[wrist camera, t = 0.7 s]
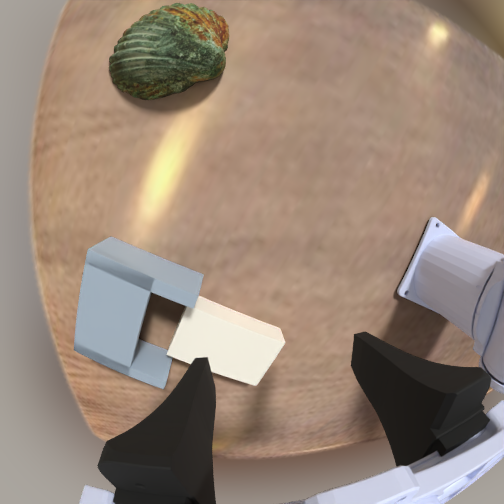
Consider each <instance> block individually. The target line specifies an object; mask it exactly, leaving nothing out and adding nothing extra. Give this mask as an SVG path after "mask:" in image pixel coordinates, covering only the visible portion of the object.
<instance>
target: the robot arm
mask: <svg viewBox="0 0 504 504" xmlns="http://www.w3.org/2000/svg"><path fill="white" fill-rule="evenodd" d="M436 223H437V226H436ZM405 291H406V293H405ZM397 293H398V294H399V295H400V296H402V297H404V298H406V299H408V300H411V301H413V302H415V303H417V304H419V305H421V306H424V307H426V308H428V309H430V310H432V311H435V312H437V313H439V314H441V315H442V316H443V317H445V318H446V319H447V320H449V321H450V322H451V323H453V324H454V325H455V326H457V327H458V328H459V329H461V330H462V331H463V332H464V333H466V334H467V335H468V336H470V337H471V338H472V339H473V340H475V343H474V347H473V350H474V351H475V352H476V353H478V354H479V355H480V356H481V357H480V359H479V367H458V366H450V365H444V364H439V363H435V362H431V361H428V360H424V359H421V358H418V357H416V356H413V355H411V354H408V353H406V352H404V351H402V350H400V349H397V348H395V347H393V346H391V345H390V344H388V343H386V342H384V341H382V340H380V339H378V338H377V337H375V336H373V335H371V334H369V333H367V332H362V333H357V334H354V342H353V352H352V361H351V367H352V369H353V372H354V374H355V376H356V379H357V381H358V383H359V384H360V386H361V388H362V389H363V391H364V393H365V394H366V396H367V397H368V399H369V401H370V402H371V404H372V406H373V407H374V409H375V411H376V412H377V414H378V416H379V418H380V421H381V423H382V425H383V428H384V430H385V433H386V435H387V438H388V440H389V443H390V445H391V449H392V452H393V455H394V459H395V462H396V466H397V467H395V468H392V469H389V470H386V471H384V472H381V473H379V474H376V475H373V476H371V477H368V478H365V479H362V480H359V481H356V482H353V483H350V484H346V485H343V486H340V487H336V488H332V489H329V490H326V491H323V492H320V493H317V494H315V495H313V496H311V497H309V498H307V499H305V500H299V501H294V502H288V503H281V504H444V503H445V502H447V501H449V500H450V499H451V498H453V497H454V496H456V495H457V494H459V493H460V492H461V491H463V490H464V489H465V488H467V487H468V486H469V485H471V484H472V483H473V482H474V481H476V480H477V479H478V478H480V477H481V476H482V475H483V474H485V473H486V472H487V471H488V470H489V469H490V468H492V467H493V466H494V465H495V464H496V463H497V462H498V461H500V460H501V459H502V458H503V457H504V401H503V400H502V401H500V402H499V403H498V404H497V405H495V406H494V407H493V408H491V409H490V410H489V411H488V412H487V413H486V415H485V414H484V412H483V410H484V406H483V405H482V404H481V403H482V401H483V399H484V397H485V395H486V393H487V391H488V389H489V387H491V388H493V389H494V390H496V391H497V392H499V393H502V394H504V255H503V254H501V253H498V252H496V251H493V250H491V249H488V248H485V247H483V246H480V245H477V244H475V243H472V242H469V241H466V240H463V239H461V238H460V237H459V236H458V235H456V234H455V233H454V232H453V231H452V230H450V229H449V228H448V227H447V226H446V225H444V224H443V223H442V222H441V221H439V220H438V219H437V218H435V217H431V218H430V220H429V222H428V225H427V227H426V230H425V232H424V234H423V237H422V239H421V241H420V244H419V246H418V248H417V250H416V253H415V255H414V257H413V259H412V261H411V263H410V266H409V268H408V270H407V272H406V274H405V276H404V278H403V280H402V282H401V284H400V286H399V288H398V290H397ZM404 293H405V294H404ZM215 409H216V391H215V384H214V380H213V376H212V372H211V368H210V364H209V360H208V357H202V358H195V359H194V360H193V362H192V363H191V365H190V367H189V368H188V370H187V371H186V373H185V375H184V376H183V378H182V379H181V380H180V382H179V383H178V385H177V386H176V387H175V389H174V390H173V391H172V392H171V394H170V395H169V396H168V397H167V398H166V400H165V401H164V402H163V403H162V404H161V405H160V406H159V407H158V408H157V409H156V410H155V411H154V412H153V413H151V414H150V415H149V416H148V417H146V418H145V419H144V420H143V421H141V422H140V423H139V424H137V425H136V426H134V427H133V428H131V429H129V430H128V431H126V432H124V433H122V434H120V435H118V436H116V437H114V438H112V439H110V440H108V441H107V442H106V444H105V446H104V448H103V451H102V454H101V457H100V460H99V463H98V469H99V470H100V472H101V473H102V474H103V475H104V476H105V478H106V479H108V480H109V481H110V482H111V483H112V484H113V485H114V486H115V487H116V491H115V494H114V493H112V492H110V491H108V490H104V489H100V488H96V487H93V486H89V485H85V487H84V489H83V493H82V496H81V499H80V502H79V504H216V501H215V491H214V478H213V460H212V440H213V430H214V420H215Z"/></svg>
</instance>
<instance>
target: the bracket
mask: <svg viewBox="0 0 504 504" xmlns="http://www.w3.org/2000/svg"><path fill="white" fill-rule="evenodd" d="M203 275H204V274H201V273H199V272H196V271H193V270H191V269H188V268H186V267H183V266H181V265H178V264H176V263H173V262H171V261H168V260H166V259H163V258H161V257H159V256H156V255H154V254H151V253H149V252H146V251H144V250H142V249H139V248H137V247H135V246H132V245H130V244H127V243H125V242H123V241H120V240H118V239H116V238H113V237H109V238H107V239H105V240H103V241H102V242H100V243H98V244H96V245H94V246H93V247H91V248H89V249H88V252H87V256H86V261H85V266H84V272H83V277H82V283H81V289H80V296H79V303H78V311H77V320H76V330H75V342H74V351H76V352H78V353H80V354H82V355H84V356H86V357H88V358H90V359H92V360H94V361H96V362H98V363H100V364H102V365H105V366H107V367H109V368H111V369H113V370H116V371H118V372H120V373H123V374H125V375H127V376H130V377H132V378H135V379H137V380H140V381H142V382H145V383H148V384H150V385H153V386H156V387H158V388H161V389H164V387H165V384H166V382H167V378H168V374H169V370H170V366H171V362H172V359H173V357H171V356H169V355H167V351H168V350H166V349H163V348H161V347H158V346H156V345H153V344H150V343H148V342H145V341H143V340H141V339H139V335H140V331H141V327H142V324H143V320H144V316H145V313H146V309H147V306H148V303H149V299H150V296H151V293H155V294H157V295H159V296H162V297H164V298H167V299H169V300H172V301H175V302H177V303H180V304H182V305H185V306H188V307H190V308H193V309H194V306H195V304H196V301H197V299H198V296H199V292H200V288H201V283H202V279H203Z"/></svg>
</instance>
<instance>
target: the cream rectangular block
mask: <svg viewBox="0 0 504 504" xmlns="http://www.w3.org/2000/svg"><path fill="white" fill-rule="evenodd" d="M284 344H285V340H284V338H283V335H282V332H281V329H280V328H278V327H275V326H273V325H270V324H267V323H265V322H262V321H260V320H257V319H254V318H252V317H249V316H247V315H244V314H242V313H239V312H237V311H234V310H232V309H229V308H227V307H225V306H222V305H220V304H217V303H215V302H213V301H210V300H208V299H206V298H203V297H201V296H198V299H197V301H196V304H195V306H194V309H193V308H190V307H188V306H185V309H184V311H183V313H182V315H181V318H180V320H179V322H178V325H177V327H176V329H175V332H174V334H173V336H172V339H171V342H170V345H169V348H168V351H167V355H169V356H171V357H174V358H176V359H179V360H181V361H184V362H186V363H189V364H191V363H192V362H193V360H194V359H195V358H202V357H208V360H209V364H210V368H211V372H214V373H217V374H220V375H223V376H226V377H229V378H232V379H235V380H238V381H242V382H245V383H248V384H252V385H255V386H256V385H257V384H258V383H259V381H260V380H261V378H262V377H263V375H264V374H265V373H266V371H267V370H268V368H269V367H270V365H271V364H272V362H273V361H274V359H275V358H276V356H277V355H278V353H279V352H280V350H281V349H282V347H283V346H284Z"/></svg>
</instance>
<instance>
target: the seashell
mask: <svg viewBox="0 0 504 504" xmlns="http://www.w3.org/2000/svg"><path fill="white" fill-rule="evenodd" d="M228 41H229V29H228V25H227V23H226V21H225V19H224V18H223V17H222V16H218V15H217V14H216V13H215V12H214V11H213V10H208V9H207V8H204V7H201V8H198V7H197V6H196V5H195V4H192V3H190V4H186V5H183V4H180V3H175V4H172V5H171V6H162V7H161V8H160V9H158V10H153V11H151V12H150V13H149V14H146V15H144V16H142V17H141V18H140V20H139V21H137V22H135V23H134V24H133V25H132V26H131V28H129V29H127V30H126V31H125V32H124V33H123V37H122V38H120V39H119V41H118V44H117V45H116V46H115V47H114V52H115V54H113V55H112V56H111V57H110V58H109V61H110V63H111V65H110V66H109V69H110V71H111V77H112V78H113V83H114V84H116V85H117V86H118V89H120V90H121V91H122V92H128V93H129V94H130V95H131V96H133V97H136V98H140V99H144V100H152V99H157V98H160V97H164V96H168V95H171V94H173V93H179V92H183V91H185V90H186V89H187V88H189V87H190V86H192V85H193V84H194V83H196V82H199V81H204V80H209V79H214V78H216V77H218V76H219V75H220V74H221V73H222V72H223V70H224V68H225V65H226V57H225V53H224V51H225V50H226V49H227V48H228Z"/></svg>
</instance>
